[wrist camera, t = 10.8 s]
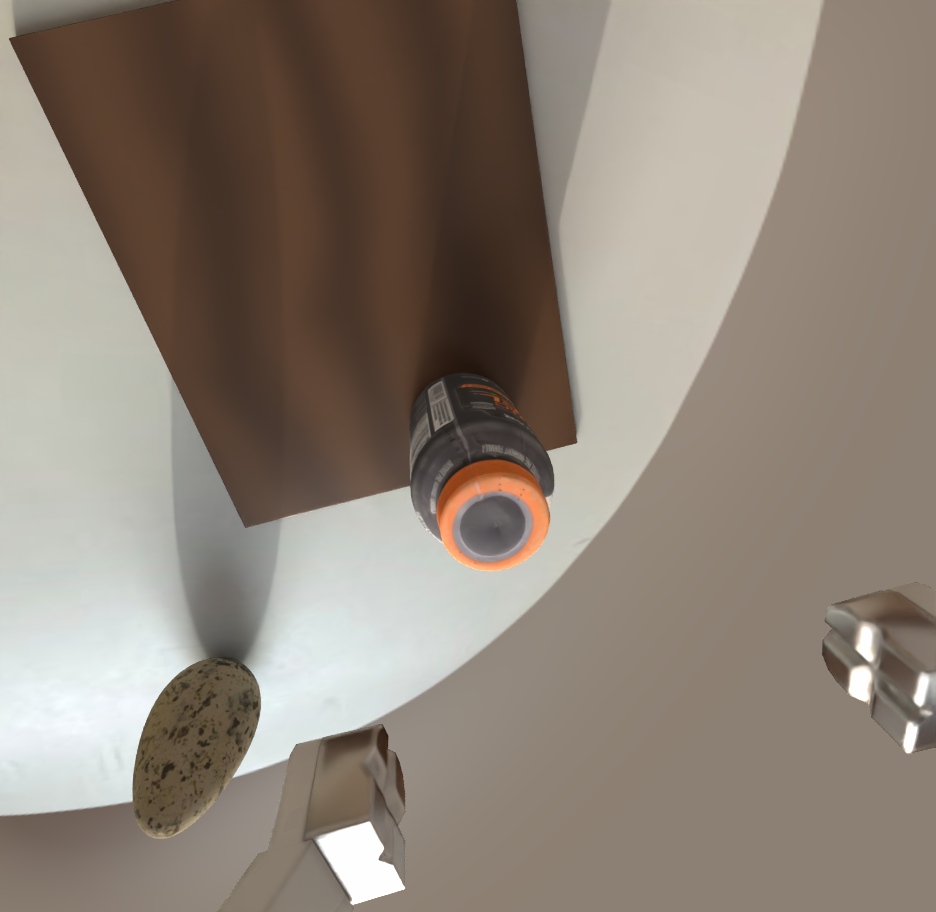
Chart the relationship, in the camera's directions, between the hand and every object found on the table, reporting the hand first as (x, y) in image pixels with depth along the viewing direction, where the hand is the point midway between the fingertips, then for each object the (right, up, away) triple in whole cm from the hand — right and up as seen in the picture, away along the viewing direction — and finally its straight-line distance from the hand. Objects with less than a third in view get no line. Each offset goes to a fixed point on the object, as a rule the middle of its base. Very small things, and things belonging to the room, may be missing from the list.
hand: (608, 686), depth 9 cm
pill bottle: (-3, +6, +19) cm, 20 cm away
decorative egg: (-19, -10, +24) cm, 32 cm away
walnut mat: (-8, +13, +15) cm, 22 cm away
